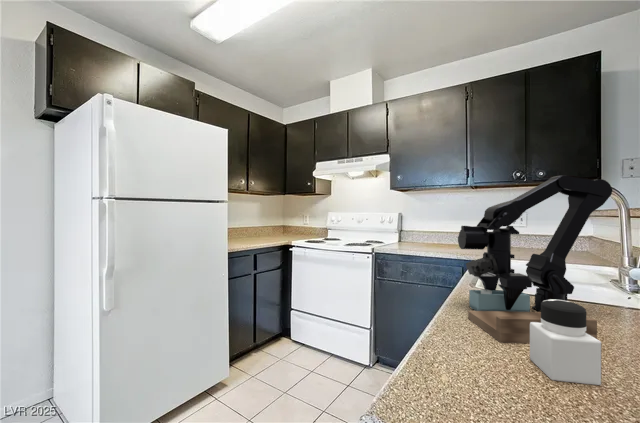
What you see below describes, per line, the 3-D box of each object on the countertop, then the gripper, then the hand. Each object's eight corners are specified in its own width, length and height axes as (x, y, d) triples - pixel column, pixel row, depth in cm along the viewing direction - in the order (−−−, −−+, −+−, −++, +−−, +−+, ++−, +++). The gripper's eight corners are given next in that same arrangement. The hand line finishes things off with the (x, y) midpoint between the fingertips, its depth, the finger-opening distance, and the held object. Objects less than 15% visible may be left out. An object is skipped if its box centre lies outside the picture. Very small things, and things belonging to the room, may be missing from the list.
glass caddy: (517, 307, 84) (517, 288, 84) (529, 313, 79) (529, 293, 79) (469, 306, 84) (469, 288, 84) (478, 312, 79) (478, 292, 79)
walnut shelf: (546, 319, 74) (546, 300, 74) (597, 344, 60) (597, 320, 60) (468, 318, 75) (468, 299, 75) (500, 342, 61) (500, 319, 61)
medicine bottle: (602, 386, 45) (602, 310, 46) (551, 380, 47) (551, 307, 47) (572, 363, 52) (572, 297, 53) (528, 359, 54) (529, 295, 54)
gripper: (455, 245, 91) (455, 295, 91) (488, 254, 72) (488, 316, 72) (490, 246, 91) (490, 295, 91) (533, 254, 72) (533, 316, 72)
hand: (498, 304), depth 81 cm, fingers open, 8 cm apart
